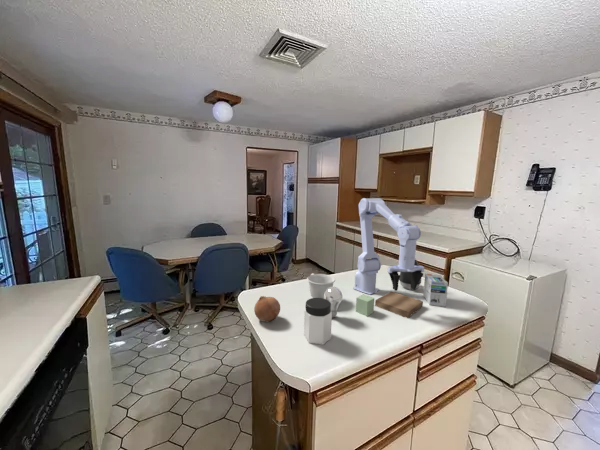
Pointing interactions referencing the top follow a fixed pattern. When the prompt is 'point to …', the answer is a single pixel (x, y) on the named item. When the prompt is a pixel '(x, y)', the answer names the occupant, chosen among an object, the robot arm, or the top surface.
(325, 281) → the teacup
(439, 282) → the light bulb box
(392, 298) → the walnut base
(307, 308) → the jar
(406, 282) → the black egg-shaped speaker
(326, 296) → the light bulb
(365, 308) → the green block
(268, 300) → the onion
